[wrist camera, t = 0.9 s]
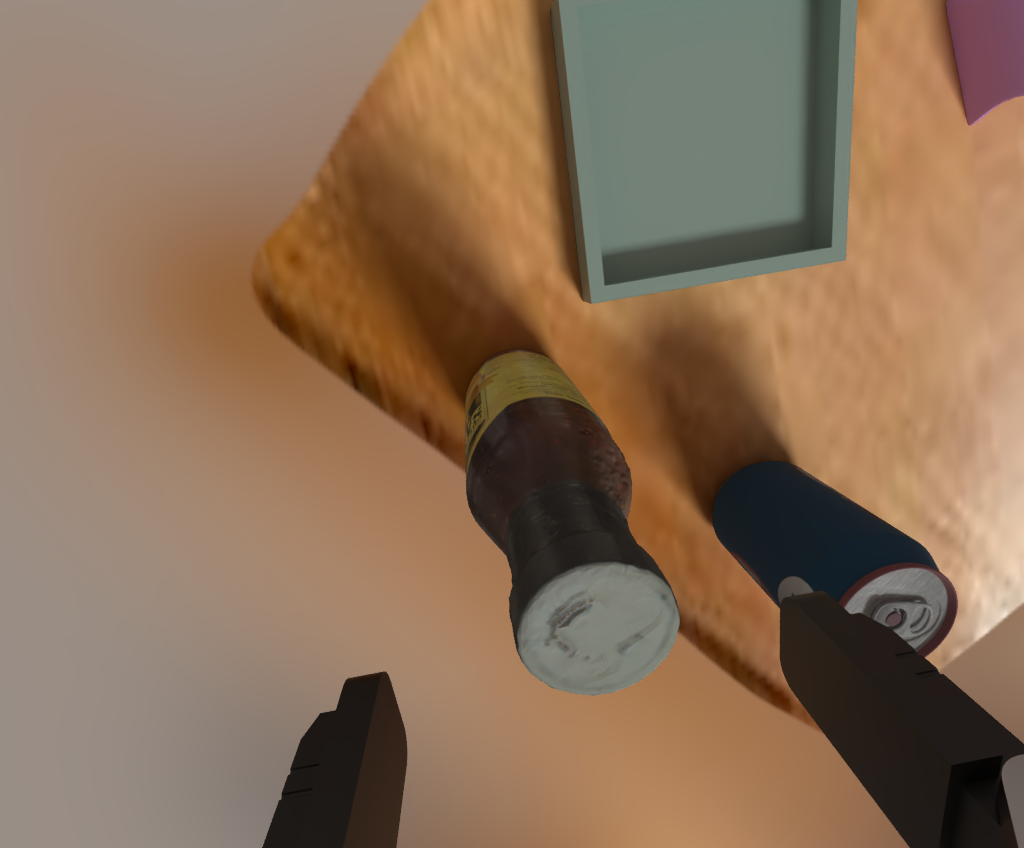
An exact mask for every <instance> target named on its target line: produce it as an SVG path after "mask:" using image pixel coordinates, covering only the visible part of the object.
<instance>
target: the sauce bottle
mask: <svg viewBox="0 0 1024 848" xmlns="http://www.w3.org/2000/svg"><path fill="white" fill-rule="evenodd" d="M465 405H466V429H465V430H466V433H465V455H466V493H467V500H468V505H469V508H470V510H471V513H472V515H473V517H474V518H475V521H476V522H477V523H478V524H479V526H480V527H481V528H482V529H483V530H484V532H485V533H486V534H487V535H488V536H489V537H490V538H491V539H492V541H493V542H494V543H495V544H496V545H497V546H498V547H499V548H500V549H501V550H502V551H503V553H504V554H505V555H506V556H507V559H508V562H509V566H510V568H511V573H512V585H513V587H512V590H511V594H510V597H509V604H510V607H509V608H510V609H509V613H510V619H511V622H512V627H513V633H514V639H515V644H516V649H517V652H518V654H519V656H520V659H521V660H522V662H523V664H524V665H525V666H526V668H527V669H528V670H529V672H530V673H531V674H532V675H534V676H535V677H537V678H538V679H539V680H540V681H542V682H544V683H545V684H547V685H548V686H550V687H552V688H554V689H558V690H562V691H566V692H570V693H575V694H583V695H600V694H606V693H613V692H615V691H618V690H620V689H624V688H627V687H629V686H631V685H633V684H635V683H637V682H639V681H640V680H642V679H643V678H644V677H646V676H647V675H648V674H650V673H651V672H653V671H654V670H655V668H657V667H658V665H659V664H660V663H661V661H663V660H664V659H665V658H666V657H667V656H668V654H669V651H670V649H671V648H672V646H673V645H674V643H675V639H676V636H677V633H678V628H679V624H680V622H679V610H678V605H677V601H676V599H675V596H674V594H673V591H672V589H671V586H670V585H669V583H668V581H667V580H666V578H665V577H664V575H663V573H662V571H661V570H660V569H659V567H658V565H657V564H656V562H655V561H654V559H653V558H652V557H651V556H650V555H649V554H648V553H647V552H646V551H645V550H644V549H643V548H642V547H641V546H639V545H638V544H637V543H636V541H635V539H634V538H633V536H632V534H631V532H630V530H629V526H628V522H627V517H628V514H629V511H630V505H631V499H632V480H631V474H630V469H629V467H628V465H627V463H626V462H625V458H624V455H623V453H622V452H621V451H620V448H619V447H618V446H617V444H616V443H615V442H614V440H613V439H612V437H611V435H610V433H609V431H608V429H607V427H606V426H605V424H604V423H603V422H602V420H601V419H600V418H599V416H598V415H597V414H596V412H595V411H594V410H593V408H592V407H591V406H590V405H589V403H588V402H587V401H586V399H585V398H584V397H583V396H582V394H581V393H580V392H579V390H578V389H577V388H576V386H575V385H574V384H573V382H572V381H571V380H570V379H569V377H568V376H567V375H566V374H565V372H564V371H563V370H562V369H561V368H560V367H559V366H558V365H557V364H556V363H555V362H554V361H553V360H551V359H549V358H547V357H545V356H543V355H542V354H541V353H538V352H535V351H533V350H532V351H529V350H507V351H502V352H500V353H498V354H495V355H494V356H492V357H490V358H489V359H488V360H487V361H486V362H485V363H484V364H483V365H482V366H481V367H480V369H479V370H478V371H477V372H476V373H475V374H474V376H473V378H472V380H471V383H470V385H469V388H468V391H467V395H466V404H465Z"/></svg>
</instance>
